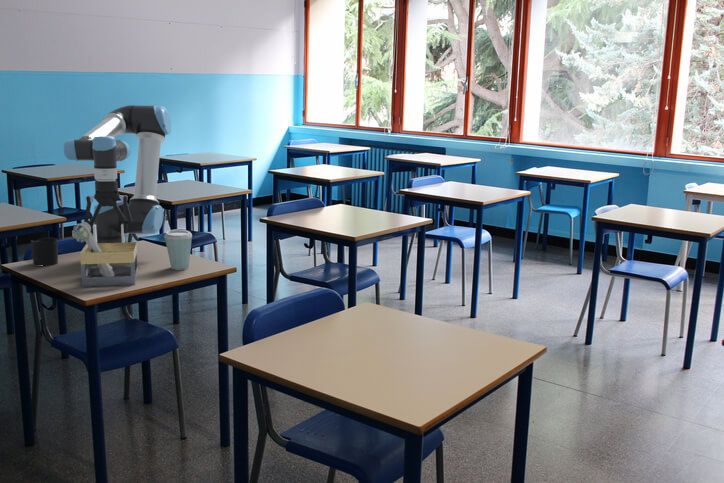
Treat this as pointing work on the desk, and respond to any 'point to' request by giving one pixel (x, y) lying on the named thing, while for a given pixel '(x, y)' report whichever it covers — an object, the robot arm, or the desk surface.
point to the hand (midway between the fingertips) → (109, 242)
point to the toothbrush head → (91, 245)
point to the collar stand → (110, 255)
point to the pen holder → (45, 251)
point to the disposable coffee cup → (178, 248)
